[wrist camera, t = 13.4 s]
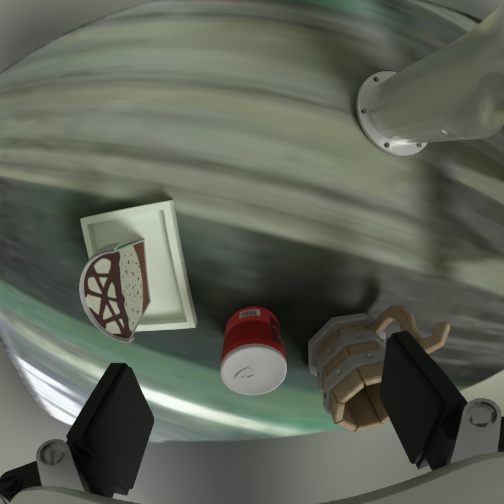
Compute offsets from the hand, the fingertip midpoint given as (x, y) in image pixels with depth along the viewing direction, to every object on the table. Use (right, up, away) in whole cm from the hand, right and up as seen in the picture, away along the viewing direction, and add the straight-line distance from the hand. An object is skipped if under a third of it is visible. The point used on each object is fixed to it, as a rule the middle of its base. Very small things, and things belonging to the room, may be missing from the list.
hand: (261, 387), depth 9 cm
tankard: (+17, -8, +34) cm, 39 cm away
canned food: (0, -6, +33) cm, 34 cm away
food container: (-18, +2, +30) cm, 35 cm away
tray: (-16, +2, +31) cm, 35 cm away
